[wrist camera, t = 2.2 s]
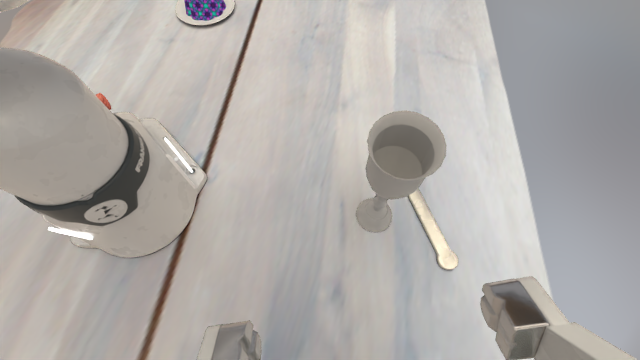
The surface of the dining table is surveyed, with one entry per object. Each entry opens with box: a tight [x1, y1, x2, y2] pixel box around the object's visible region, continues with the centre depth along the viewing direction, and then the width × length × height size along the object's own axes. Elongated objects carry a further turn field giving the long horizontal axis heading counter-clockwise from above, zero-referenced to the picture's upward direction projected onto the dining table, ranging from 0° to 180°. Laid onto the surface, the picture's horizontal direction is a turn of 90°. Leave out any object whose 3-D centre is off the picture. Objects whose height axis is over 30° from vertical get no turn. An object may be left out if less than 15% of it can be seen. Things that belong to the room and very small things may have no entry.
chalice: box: [356, 111, 446, 232], centre depth 35 cm, size 7×7×18 cm
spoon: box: [408, 188, 458, 270], centre depth 43 cm, size 21×5×1 cm, turn 18°
